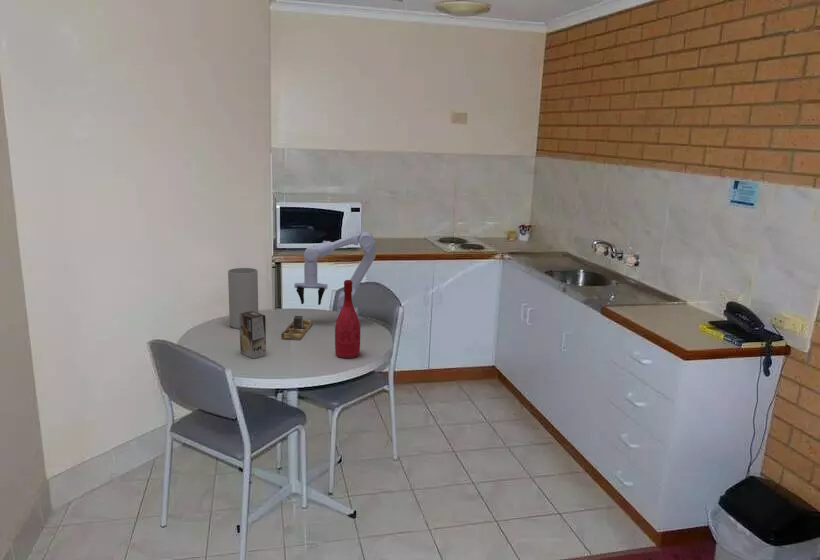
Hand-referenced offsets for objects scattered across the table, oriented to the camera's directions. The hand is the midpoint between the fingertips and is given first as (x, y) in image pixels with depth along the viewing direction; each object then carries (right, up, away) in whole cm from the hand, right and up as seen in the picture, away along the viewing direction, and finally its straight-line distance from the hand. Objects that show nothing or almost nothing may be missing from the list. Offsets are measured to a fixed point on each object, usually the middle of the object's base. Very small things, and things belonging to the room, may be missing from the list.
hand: (311, 304), depth 282 cm
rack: (-5, -12, -9) cm, 16 cm away
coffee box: (-16, -18, -39) cm, 46 cm away
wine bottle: (+20, -19, -36) cm, 45 cm away
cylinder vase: (-30, -10, -1) cm, 31 cm away
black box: (-4, -11, -9) cm, 15 cm away
